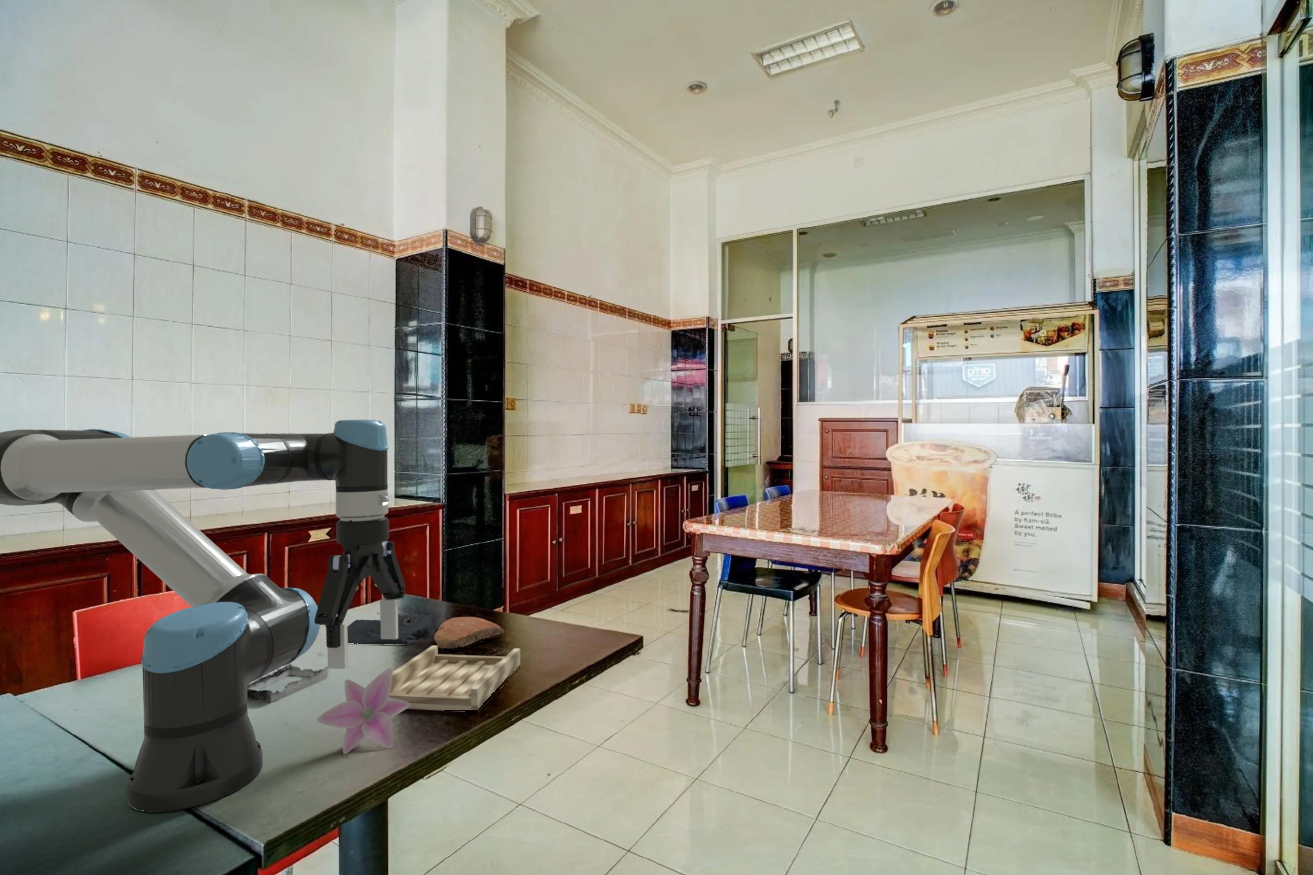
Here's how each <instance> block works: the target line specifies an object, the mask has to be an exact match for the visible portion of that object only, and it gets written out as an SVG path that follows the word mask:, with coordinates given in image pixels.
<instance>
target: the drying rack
mask: <svg viewBox="0 0 1313 875" xmlns="http://www.w3.org/2000/svg"><path fill="white" fill-rule="evenodd" d="M438 648H439V646H438V645H430V646H429V647H428V648H426V649H425V650H424V651H422V652H420V653H419V654H418V655H416V656H414V657H413V658H411V659H410V660H409V661H407V662H405V663H404V664H402V665H401V666H399V667H398V668H396V669H395V670H394V671H393V670H392V684H391V692H390V697H389V698H394V699H399V700H403V701H406V702H408V703H410V704H411V705H410V706H409V707H408V708H407V709H410V710H426V711H427V710H428V711H444V710H478V709H479V708H480V707H481V706H482V705H483V703H484V702H485V701H486V700H487V699H488V698H489V697H490V696H491V694H492V693H493V692H495V690H496V689H497V688H498V687H499V686H500V685H501V684H502V682H504V680H505V679H506V678H507V677H508V676H509V675H511V674H512V673H513V671H515V670H516V668H517V667H518V666H519V665H520V666H521V648H518V647H517V648H513V649H512V650H511V651H510V652H509V653H507V655H505V656H494V655H493V656H492V655H470V654H469V655H467V654H445V653H444V654H442V653H441V654H440V653H439V651H438V650H439V649H438ZM438 653H439V654H438Z"/></svg>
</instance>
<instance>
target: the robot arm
mask: <svg viewBox="0 0 1313 875" xmlns="http://www.w3.org/2000/svg"><path fill="white" fill-rule="evenodd" d="M386 427H387V426H386V424H385V423H384V422H383V421H381V420H378V419H344V420H342V419H340V420H337V421H336V422H335V423H334V427H333V428H334V429H333V432H328V433H292V432H291V433H290V432H289V433H248V432H247V433H243V432H241V433H240V432H237V431H236V432H234V431H233V432H227V431H226V432H225V431H224V432H217V433H210V434H190V435H189V434H185V435H183V434H182V435H164V436H156V435H155V436H137V437H136V436H134V437H132V436H129V435H128V434H125V433H122V432H120V431H119V432H118V431H112V430H105V429H100V428H98V429H96V428H90V429H84V430H83V429H81V430H80V429H79V430H77V429H75V430H73V429H72V430H71V429H13V430H6V431H2V432H0V505H4V506H5V505H6V506H16V507H18V506H19V507H21V506H36V505H37V506H38V505H46V504H49V505H50V504H59V505H61V506H62V507H64V509H66V510H67V511H68V512H69V513H71V515H73V516H74V517H75V518H76V519H78V520H79V521H81V522H87V523H90V522H91V523H95V522H97V523H99V524H100V526H102V527H103V528H104V530H106V531H107V532H108V533H110V534H111V535H112V536H113V537H114V538H115V539H116V540H117V541H118V542H119V543H120V544H122V545H123V546H124V548H126V549H127V550H128V551H129V552H130V553H131V554H133V555H134V556H135V557H136V558H137V559H138V560H139V561H140V562H141V563H143V564H144V566H146V567H147V568H148V569H149V570H150V571H151V572H152V573H154V575H155V576H157V578H159V579H160V580H161V581H162V582H163V583H164V584H166V586H167V587H168V588H169V589H171V590H172V591H173V592H174V593H175V594H176V595H177V596H179V597H180V598H181V599H182V600H183V601H184V602H185V603H186V604H187V605H188V606H190V607H187V608H183V609H180V610H177V611H175V612H172V613H169V614H168V615H167V614H166V615H165V616H163V617H161V618H160V619H158V620H156V621H155V622H154V623H152V624H151V626H150V627H148V629H147V630H146V632H145V635H144V637H143V638H144V639H143V650H142V655H141V659H140V661H141V662H140V664H141V665H142V689H143V692H142V693H143V696H142V697H143V731H144V732H143V740H142V744H141V745H140V746H141V747H140V749H139V751H138V754H137V759H136V761H135V765H134V771H133V772H132V774H131V775H130V776H129V780H128V782H127V804H128V803H129V804H130V805H131V806H132V807H134V808H136V809H138V810H144V811H153V812H152V813H167V812H175V811H181V810H186V809H190V808H194V807H199V806H200V805H204V804H207V803H211V802H213V801H216V800H218V799H221V798H224V797H225V796H227V795H228V796H229V795H231V794H232V793H234V792H236V791H238V790H239V789H241V788H243V787H245V786H247V785H248V784H249V783H250V782H251V781H253V780H254V779H255V778H256V777H257V776H258V775H259V774H260V772H261V770H262V769H263V761H264V760H263V748H262V745H261V743H260V742H259V741H257V738H256V735H255V731H254V728H253V725H252V722H251V720H250V717H249V712H248V699H247V684H249V683H251V682H253V681H255V680H257V679H259V678H260V677H264V676H266V675H268V674H271V673H273V672H275V671H277V669H280V668H283V667H285V666H286V665H289V664H292V663H293V662H295V661H296V660H297V659H298V658H299V657H301V656H302V655H304V654H305V653H306V652H308V651H309V650H310V648H311V647H312V646H313V645H314V643H315V642H316V640H317V638H318V635H319V632H320V627H321V626H325V629H326V630H325V631H326V632H325V633H326V634H325V638H326V639H325V640H326V641H325V643H326V648H327V667H328V668H329V670H330V669H332V670H334V669H335V670H346V669H348V668H349V647H348V645H349V644H348V636H347V627H348V622H344V620H345V618H346V616H347V613H348V611H349V608H350V606H351V603H352V601H353V599H354V596H355V594H356V592H357V589H358V586H359V585H360V584H362V583H363V581H364V580H365V579H367V578H368V577H370V579H371V580H372V581H373V583H374V584H375V586H376V587H377V589H378V591H379V592H380V594H381V595H382V597H383V598H382V599H380V600H379V604H380V605H379V606H380V607H379V608H380V609H379V610H380V611H379V612H380V619H379V620H381V639H397V638H398V614H399V609H398V608H399V602H398V599H403V598H404V597H405V591H406V589H407V588H406V584H405V581H404V580H405V579H404V576H403V573H402V571H401V568H400V564H399V561H398V558H397V555H396V548H395V542H394V541H388V540H389V538H390V520H389V518H388V517H387V516H385V515H387V514H388V513H389V501H390V497H389V493H388V488H389V487H388V486H389V485H388V484H389V483H388V450H389V445H388V438H387V437H388V435H387V428H386ZM308 481H309V482H312V481H313V482H314V481H334V482H335V516H336V517H337V518H339V519H338V521H337V522H336V524H335V525H336V526H335V528H336V542H337V545H341V546H342V547H343V552H342V555H341V554H340V555H338V554H337V555H336V554H335V555H334V554H333V555H332V554H330V556H329V557H328V563H327V564H328V566H327V572H326V573H327V574H326V576H325V580H324V584H323V587H322V591H321V595H320V598H319V601H318V605H317V603H316V601H315V600H314V598H313V597H312V596H311V595H310V594H309V593H308V592H307V591H306V590H303V589H301V588H298V587H293V588H292V587H279V586H278V585H277V584H276V583H275V582H274V581H272V580H271V579H270V577H269V576H267V575H265V574H264V573H254V574H253V573H252V574H250V573H247V572H246V571H245V570H244V569H243V568H242V567H241V566H240V564H238V563H236V561H234V560H233V559H232V558H231V557H230V556H229V555H228V554H227V553H226V552H224V551H223V550H222V549H221V548H220V547H219V545H218V546H217V544H215V543H214V542H213V541H212V540H211V539H210V538H209V537H207V535H205V534H204V532H202V531H201V530H200V529H198V527H196V526H195V525H194V524H193V523H192V521H190V520H189V519H188V518H186V517H185V516H184V515H183V514H182V513H181V512H180V511H179V510H178V509H177V508H175V506H173V505H172V504H171V503H170V502H169V501H168V500H167V499H166V498H164V497H163V496H162V495H161V494H160V493H159V492H158V491H157V490H183V489H184V490H185V489H211V490H220V491H221V490H222V491H224V490H225V491H227V490H236V489H241V488H247V487H255V486H264V485H276V484H285V483H294V482H297V483H298V482H308ZM129 804H128V805H129ZM132 807H131V808H132ZM138 810H137V811H138ZM154 811H155V812H154Z"/></svg>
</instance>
